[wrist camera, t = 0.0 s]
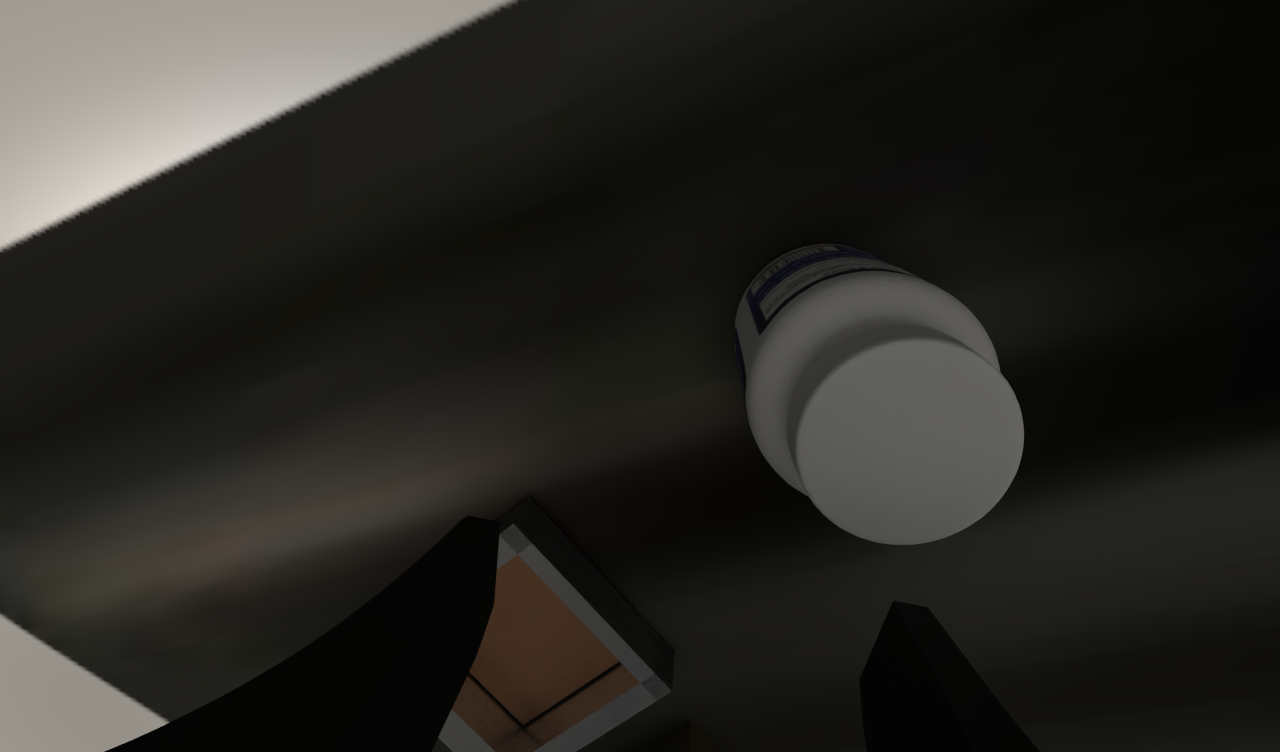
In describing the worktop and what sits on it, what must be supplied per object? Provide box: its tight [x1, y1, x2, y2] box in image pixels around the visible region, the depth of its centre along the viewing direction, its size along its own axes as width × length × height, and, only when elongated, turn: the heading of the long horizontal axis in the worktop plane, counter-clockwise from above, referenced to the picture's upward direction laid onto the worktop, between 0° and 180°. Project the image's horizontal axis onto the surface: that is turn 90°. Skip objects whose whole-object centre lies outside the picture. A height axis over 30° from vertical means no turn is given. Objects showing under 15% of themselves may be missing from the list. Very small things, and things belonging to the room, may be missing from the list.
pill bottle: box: [734, 244, 1024, 545], centre depth 17 cm, size 5×5×10 cm
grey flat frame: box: [438, 496, 674, 752], centre depth 26 cm, size 15×8×2 cm, turn 130°
